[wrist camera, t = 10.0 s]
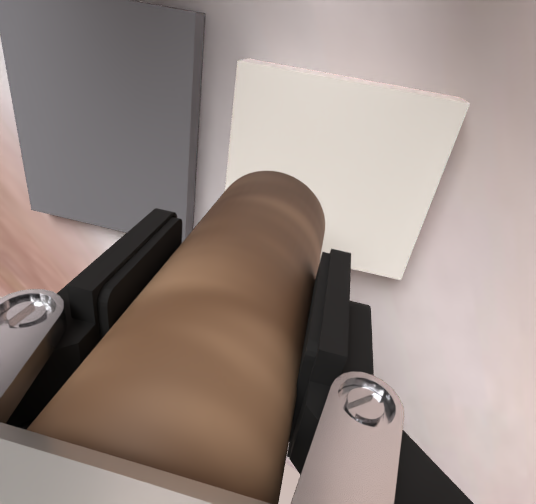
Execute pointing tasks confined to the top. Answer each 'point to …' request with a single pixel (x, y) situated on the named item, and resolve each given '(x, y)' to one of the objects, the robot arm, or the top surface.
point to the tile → (347, 152)
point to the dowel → (208, 347)
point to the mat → (105, 106)
